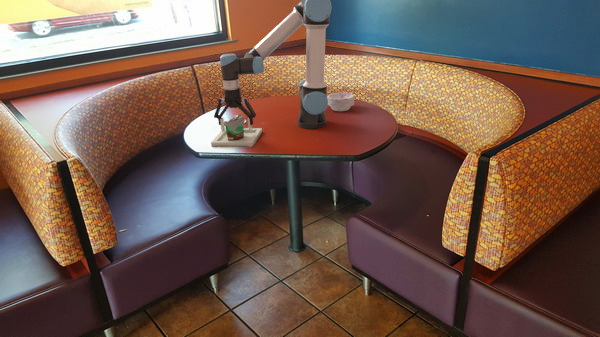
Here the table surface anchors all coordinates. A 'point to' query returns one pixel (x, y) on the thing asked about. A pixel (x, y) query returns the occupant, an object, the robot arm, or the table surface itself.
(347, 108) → the paper bowls
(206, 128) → the table surface
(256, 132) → the white square tray
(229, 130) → the food container
